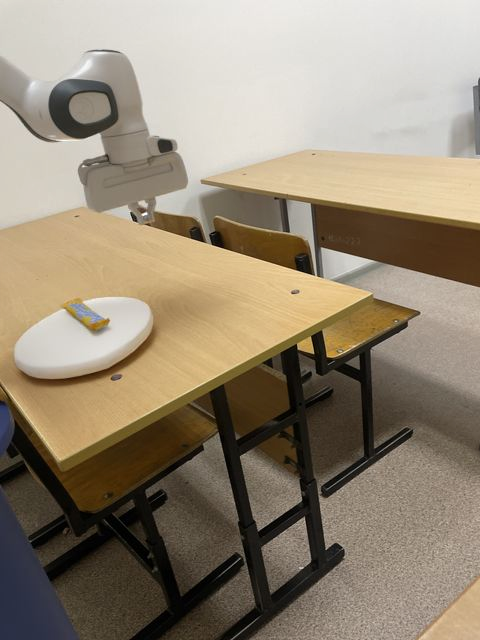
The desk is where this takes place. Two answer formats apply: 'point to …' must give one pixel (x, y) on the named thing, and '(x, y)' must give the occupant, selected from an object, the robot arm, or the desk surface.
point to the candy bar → (85, 314)
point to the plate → (83, 339)
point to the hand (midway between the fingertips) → (146, 223)
